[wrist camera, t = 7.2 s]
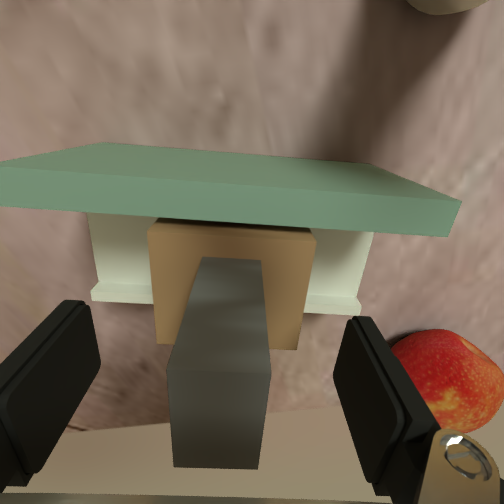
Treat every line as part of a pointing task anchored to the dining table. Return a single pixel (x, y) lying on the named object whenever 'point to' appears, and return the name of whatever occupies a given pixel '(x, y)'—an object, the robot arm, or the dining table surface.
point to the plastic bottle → (444, 6)
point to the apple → (452, 378)
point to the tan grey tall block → (225, 328)
